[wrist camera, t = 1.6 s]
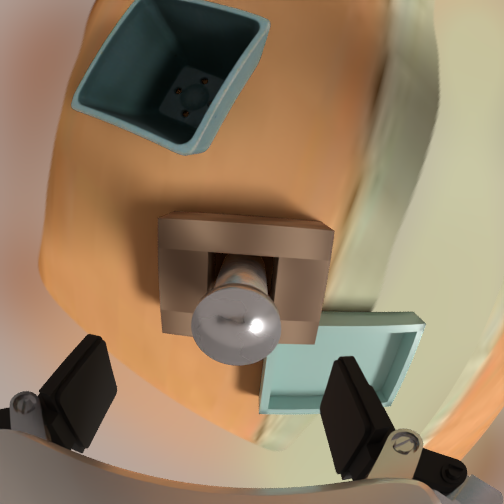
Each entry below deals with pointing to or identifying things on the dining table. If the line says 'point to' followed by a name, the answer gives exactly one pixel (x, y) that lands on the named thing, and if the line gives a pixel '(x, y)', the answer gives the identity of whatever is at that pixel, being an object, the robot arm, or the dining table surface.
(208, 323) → the pin
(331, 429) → the robot arm
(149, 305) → the dining table surface
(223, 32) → the flower pot
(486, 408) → the dining table surface
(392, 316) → the tray
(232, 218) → the socket block
